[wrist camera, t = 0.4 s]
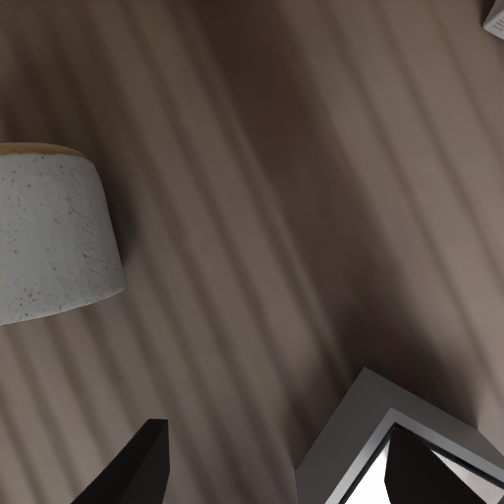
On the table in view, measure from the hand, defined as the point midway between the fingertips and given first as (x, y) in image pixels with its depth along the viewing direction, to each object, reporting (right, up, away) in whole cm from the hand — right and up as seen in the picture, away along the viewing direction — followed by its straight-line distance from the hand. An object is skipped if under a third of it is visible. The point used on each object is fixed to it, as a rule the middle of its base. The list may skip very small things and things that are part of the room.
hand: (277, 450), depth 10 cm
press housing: (+8, -7, +12) cm, 16 cm away
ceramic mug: (-13, +7, +11) cm, 19 cm away
